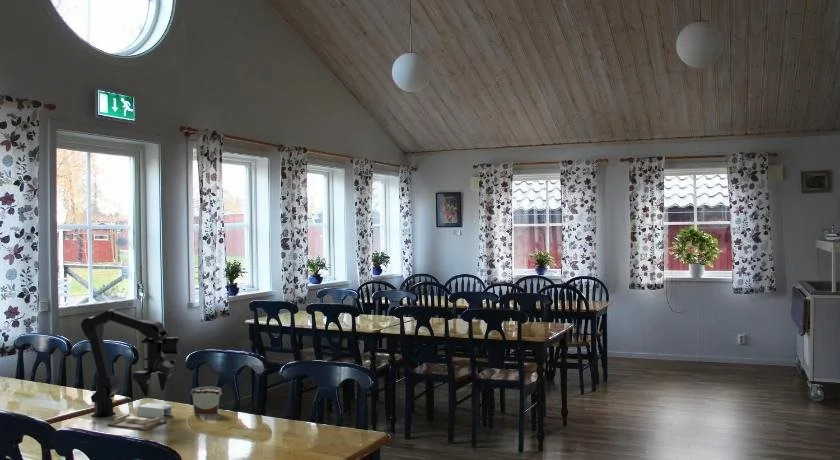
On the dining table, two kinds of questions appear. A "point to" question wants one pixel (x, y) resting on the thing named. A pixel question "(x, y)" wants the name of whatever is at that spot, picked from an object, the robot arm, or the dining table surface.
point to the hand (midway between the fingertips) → (154, 393)
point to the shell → (154, 410)
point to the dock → (135, 426)
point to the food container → (206, 400)
